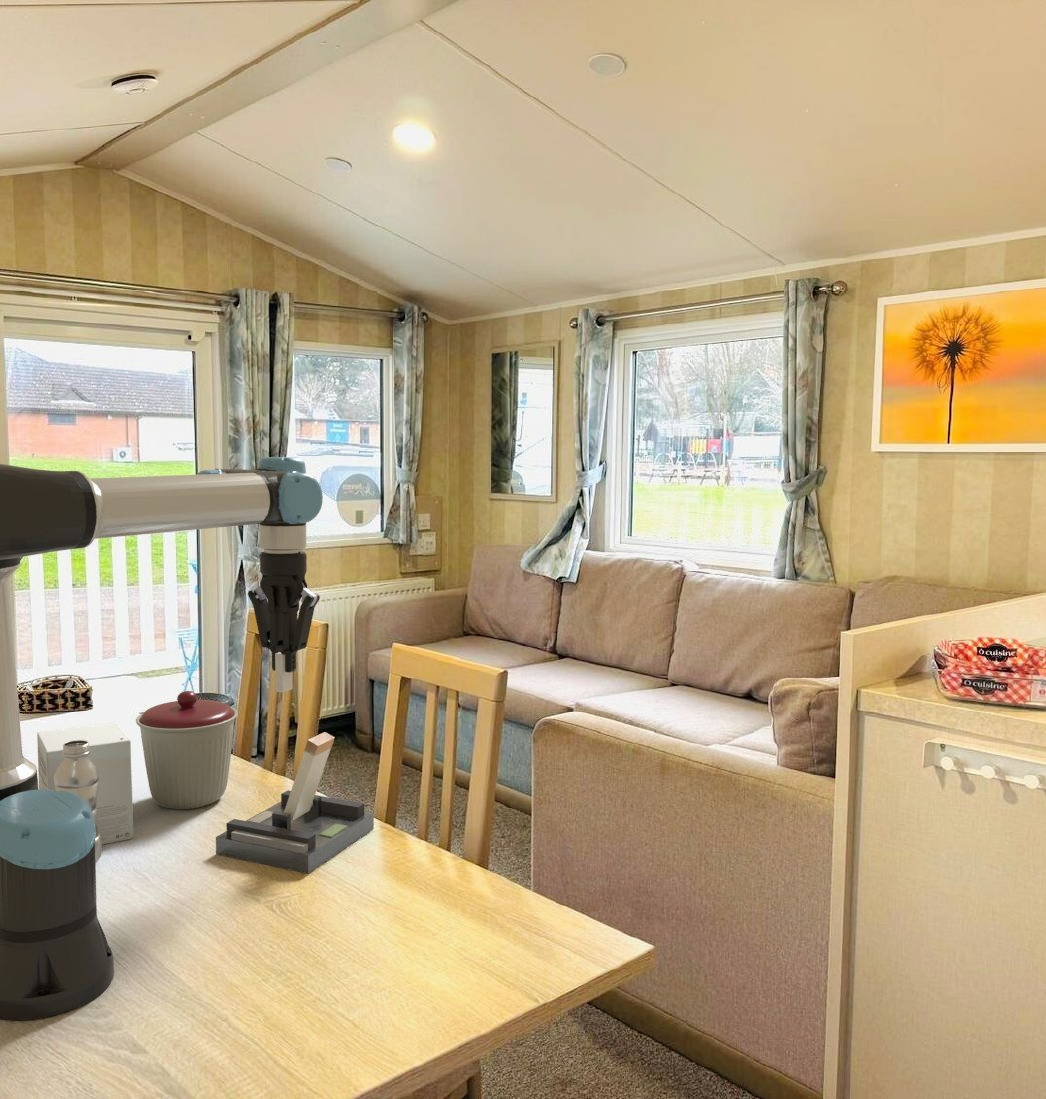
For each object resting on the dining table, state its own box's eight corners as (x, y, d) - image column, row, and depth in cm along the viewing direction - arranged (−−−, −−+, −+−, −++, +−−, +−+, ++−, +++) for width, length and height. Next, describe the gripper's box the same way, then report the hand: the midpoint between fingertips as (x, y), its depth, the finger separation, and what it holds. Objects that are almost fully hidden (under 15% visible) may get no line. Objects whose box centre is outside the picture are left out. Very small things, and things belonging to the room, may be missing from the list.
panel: (308, 873, 154) (308, 834, 154) (216, 854, 161) (215, 816, 160) (373, 828, 173) (373, 793, 172) (288, 813, 180) (288, 778, 179)
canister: (243, 810, 181) (241, 699, 178) (138, 823, 174) (135, 707, 172) (234, 779, 197) (232, 677, 195) (137, 789, 191) (135, 683, 188)
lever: (288, 824, 163) (314, 747, 160) (278, 818, 164) (304, 741, 160) (312, 809, 170) (338, 735, 166) (303, 804, 170) (328, 730, 167)
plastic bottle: (86, 875, 153) (82, 751, 150) (47, 871, 154) (43, 747, 152) (111, 859, 159) (107, 739, 157) (74, 854, 160) (70, 735, 158)
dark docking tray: (303, 853, 155) (303, 841, 155) (221, 837, 161) (221, 825, 160) (364, 814, 172) (364, 803, 171) (287, 800, 178) (287, 790, 177)
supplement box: (119, 814, 178) (117, 720, 176) (134, 839, 167) (132, 739, 165) (39, 828, 171) (35, 731, 169) (49, 855, 160) (45, 751, 158)
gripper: (329, 550, 163) (329, 689, 165) (265, 546, 168) (266, 681, 170) (302, 554, 156) (303, 699, 158) (236, 550, 161) (237, 690, 163)
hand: (284, 690), depth 164 cm, fingers closed
